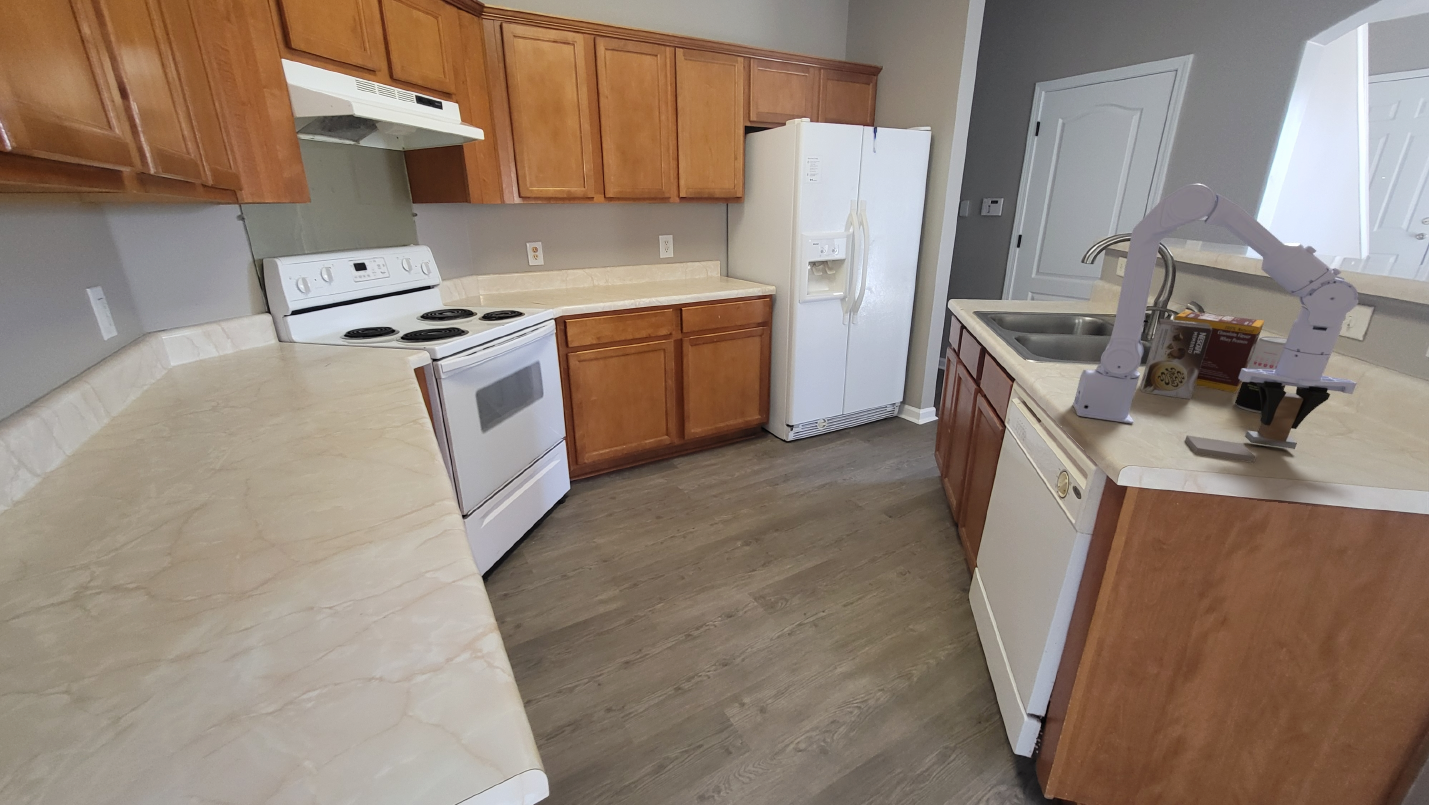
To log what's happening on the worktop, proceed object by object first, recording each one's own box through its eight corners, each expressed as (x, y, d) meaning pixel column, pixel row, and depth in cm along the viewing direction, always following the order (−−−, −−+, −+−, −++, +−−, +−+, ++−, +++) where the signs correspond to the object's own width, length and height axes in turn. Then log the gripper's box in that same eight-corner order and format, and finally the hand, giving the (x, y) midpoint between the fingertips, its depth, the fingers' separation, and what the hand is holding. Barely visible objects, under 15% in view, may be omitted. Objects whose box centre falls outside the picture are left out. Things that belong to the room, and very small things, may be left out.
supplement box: (1236, 393, 131) (1260, 326, 125) (1155, 377, 141) (1174, 314, 136) (1242, 384, 137) (1266, 320, 132) (1165, 369, 148) (1183, 309, 143)
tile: (1184, 443, 105) (1194, 456, 100) (1186, 435, 104) (1197, 447, 99) (1238, 451, 102) (1252, 465, 97) (1241, 443, 101) (1255, 456, 96)
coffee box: (1187, 392, 131) (1209, 322, 125) (1190, 400, 126) (1214, 328, 120) (1139, 384, 135) (1158, 317, 130) (1140, 392, 130) (1161, 322, 125)
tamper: (1251, 442, 102) (1269, 394, 99) (1244, 436, 105) (1262, 389, 101) (1294, 449, 100) (1315, 400, 97) (1286, 442, 103) (1306, 394, 99)
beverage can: (1244, 401, 125) (1269, 334, 120) (1281, 411, 120) (1309, 342, 115) (1227, 405, 123) (1251, 337, 118) (1264, 415, 117) (1291, 344, 112)
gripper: (1262, 350, 95) (1234, 425, 100) (1379, 362, 90) (1344, 440, 94) (1245, 341, 101) (1220, 412, 106) (1354, 351, 96) (1322, 426, 101)
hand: (1277, 425), depth 101 cm, fingers closed on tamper, 3 cm apart
